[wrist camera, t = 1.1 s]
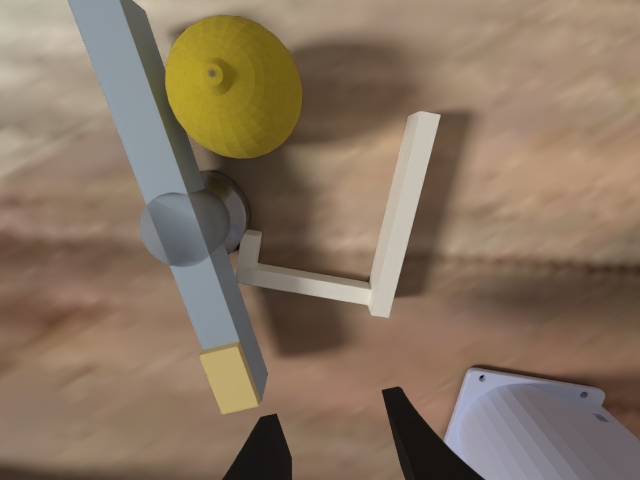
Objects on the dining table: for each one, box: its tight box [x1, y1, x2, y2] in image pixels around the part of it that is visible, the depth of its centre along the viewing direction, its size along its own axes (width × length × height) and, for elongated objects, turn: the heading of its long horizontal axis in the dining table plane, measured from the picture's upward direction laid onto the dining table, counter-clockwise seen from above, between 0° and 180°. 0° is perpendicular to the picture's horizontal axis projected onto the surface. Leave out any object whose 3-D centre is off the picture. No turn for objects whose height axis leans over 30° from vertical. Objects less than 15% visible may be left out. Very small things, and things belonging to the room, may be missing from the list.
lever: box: [68, 0, 268, 414], centre depth 17 cm, size 4×20×3 cm, turn 14°
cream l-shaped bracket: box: [236, 111, 441, 318], centre depth 19 cm, size 9×11×2 cm
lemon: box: [165, 15, 302, 159], centre depth 15 cm, size 6×6×8 cm
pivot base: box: [200, 171, 251, 254], centre depth 20 cm, size 5×5×2 cm
